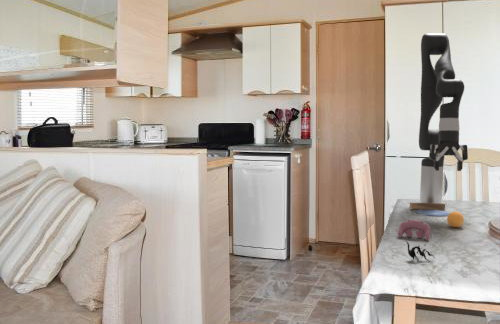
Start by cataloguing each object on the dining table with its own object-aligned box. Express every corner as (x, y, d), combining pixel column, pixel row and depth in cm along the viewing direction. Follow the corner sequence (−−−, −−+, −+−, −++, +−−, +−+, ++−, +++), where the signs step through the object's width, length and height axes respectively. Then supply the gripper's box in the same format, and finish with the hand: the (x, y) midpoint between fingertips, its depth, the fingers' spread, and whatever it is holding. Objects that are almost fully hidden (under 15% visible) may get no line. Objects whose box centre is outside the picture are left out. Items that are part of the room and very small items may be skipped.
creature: (426, 259, 142) (400, 254, 142) (431, 241, 142) (405, 236, 141) (439, 268, 135) (411, 262, 134) (444, 249, 134) (416, 243, 133)
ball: (444, 225, 181) (445, 210, 181) (459, 225, 181) (460, 210, 181) (449, 228, 176) (450, 213, 175) (465, 228, 176) (466, 213, 175)
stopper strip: (409, 208, 213) (410, 202, 212) (443, 209, 212) (443, 203, 212) (411, 209, 211) (411, 203, 210) (444, 209, 210) (445, 204, 210)
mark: (412, 209, 210) (412, 209, 210) (444, 210, 210) (444, 209, 209) (421, 215, 197) (421, 215, 197) (455, 216, 197) (455, 216, 197)
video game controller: (430, 244, 161) (431, 223, 163) (429, 240, 157) (430, 219, 159) (398, 240, 165) (400, 220, 168) (396, 237, 161) (399, 216, 164)
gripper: (463, 130, 201) (462, 170, 202) (427, 130, 202) (426, 170, 202) (470, 129, 194) (470, 171, 194) (433, 129, 194) (432, 170, 195)
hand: (448, 170), depth 198 cm, fingers open, 8 cm apart
